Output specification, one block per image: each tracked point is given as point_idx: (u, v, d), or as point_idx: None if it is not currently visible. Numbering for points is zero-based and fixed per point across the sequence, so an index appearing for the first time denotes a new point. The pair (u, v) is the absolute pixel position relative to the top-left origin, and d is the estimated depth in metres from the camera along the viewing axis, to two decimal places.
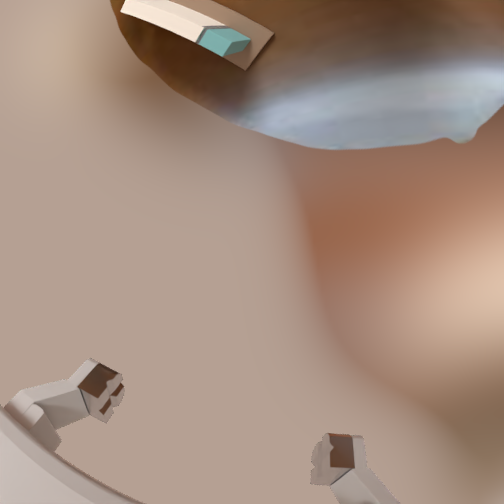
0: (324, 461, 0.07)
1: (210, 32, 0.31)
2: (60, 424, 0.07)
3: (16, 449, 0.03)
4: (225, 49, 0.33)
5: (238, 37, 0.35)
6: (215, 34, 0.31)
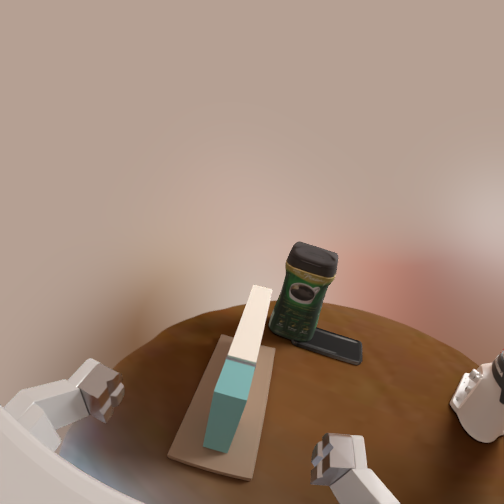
0: (324, 461, 0.07)
1: (251, 371, 0.25)
2: (60, 424, 0.07)
3: (16, 449, 0.03)
4: (229, 394, 0.22)
5: None
6: (250, 377, 0.24)
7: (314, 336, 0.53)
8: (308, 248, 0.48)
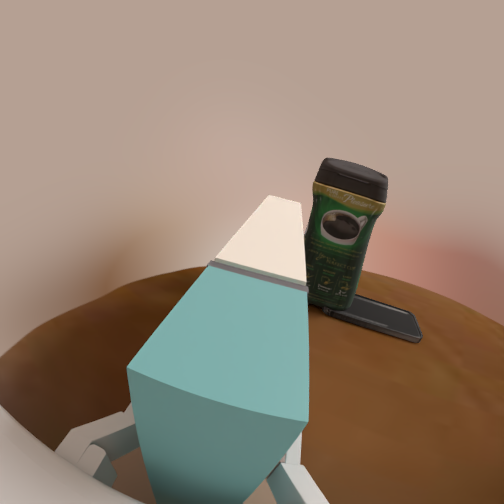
0: None
1: (298, 301, 0.07)
2: (112, 456, 0.07)
3: (16, 449, 0.03)
4: (208, 389, 0.04)
5: None
6: (300, 321, 0.06)
7: (353, 304, 0.36)
8: (345, 162, 0.30)
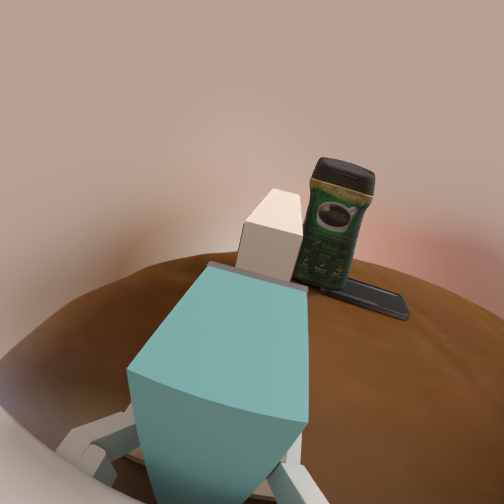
0: None
1: (298, 301, 0.07)
2: (113, 456, 0.07)
3: (16, 449, 0.03)
4: (208, 390, 0.04)
5: None
6: (300, 321, 0.06)
7: (346, 285, 0.41)
8: (338, 160, 0.35)
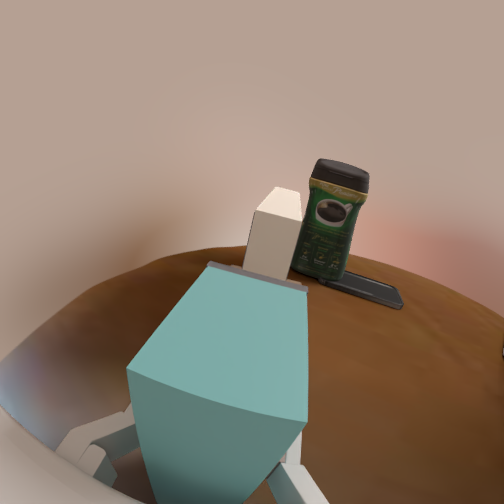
0: None
1: (298, 302, 0.07)
2: (112, 456, 0.07)
3: (16, 449, 0.03)
4: (207, 389, 0.04)
5: None
6: (300, 321, 0.06)
7: (344, 277, 0.44)
8: (335, 161, 0.39)
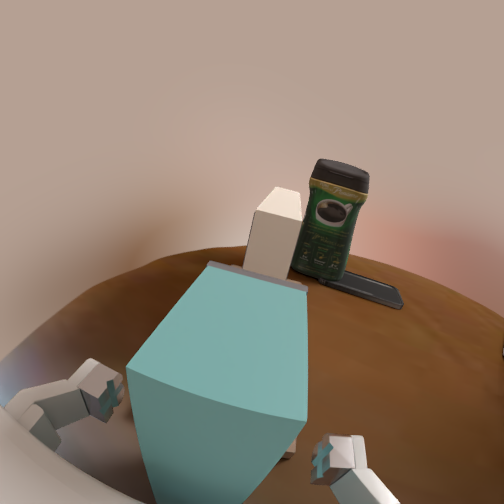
0: (324, 461, 0.07)
1: (297, 301, 0.07)
2: (60, 424, 0.07)
3: (16, 449, 0.03)
4: (206, 389, 0.04)
5: None
6: (299, 320, 0.06)
7: (344, 277, 0.44)
8: (335, 162, 0.39)
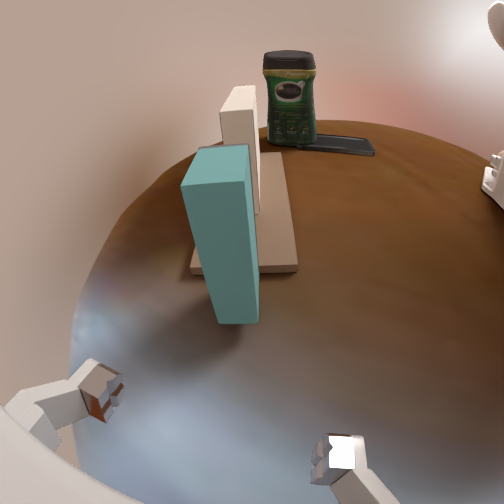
0: (324, 461, 0.07)
1: (243, 149, 0.15)
2: (60, 424, 0.07)
3: (16, 449, 0.03)
4: (209, 181, 0.12)
5: None
6: (243, 155, 0.14)
7: (318, 139, 0.49)
8: (279, 51, 0.37)
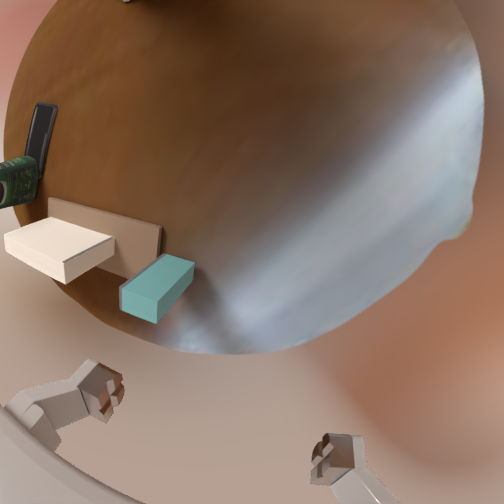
0: (324, 461, 0.07)
1: (127, 292, 0.27)
2: (60, 424, 0.07)
3: (16, 449, 0.03)
4: (155, 313, 0.28)
5: (173, 275, 0.33)
6: (133, 294, 0.27)
7: (32, 155, 0.38)
8: None
